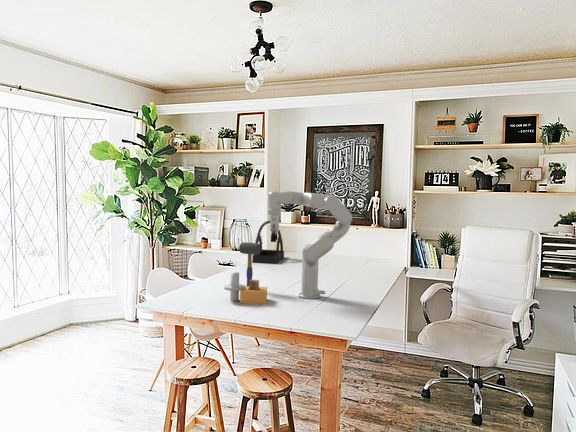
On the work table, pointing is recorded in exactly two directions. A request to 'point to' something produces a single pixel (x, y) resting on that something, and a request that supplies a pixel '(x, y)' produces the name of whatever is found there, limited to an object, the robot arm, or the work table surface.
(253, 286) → the tan wooden block
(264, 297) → the orange block with cylinder
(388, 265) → the work table surface
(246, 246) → the rubber mallet
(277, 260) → the basket
